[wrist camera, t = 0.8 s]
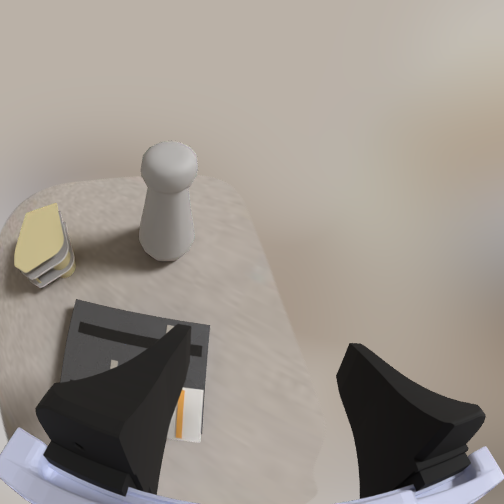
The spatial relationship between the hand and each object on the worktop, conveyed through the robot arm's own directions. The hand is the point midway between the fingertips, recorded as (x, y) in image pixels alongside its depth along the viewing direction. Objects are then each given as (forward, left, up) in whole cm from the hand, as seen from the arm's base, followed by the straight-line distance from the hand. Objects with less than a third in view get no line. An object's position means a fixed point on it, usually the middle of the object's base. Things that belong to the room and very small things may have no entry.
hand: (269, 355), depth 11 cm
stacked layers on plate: (+8, +20, -15) cm, 26 cm away
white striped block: (-4, +4, -12) cm, 13 cm away
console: (-1, +8, -14) cm, 16 cm away
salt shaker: (+13, +7, -15) cm, 21 cm away
